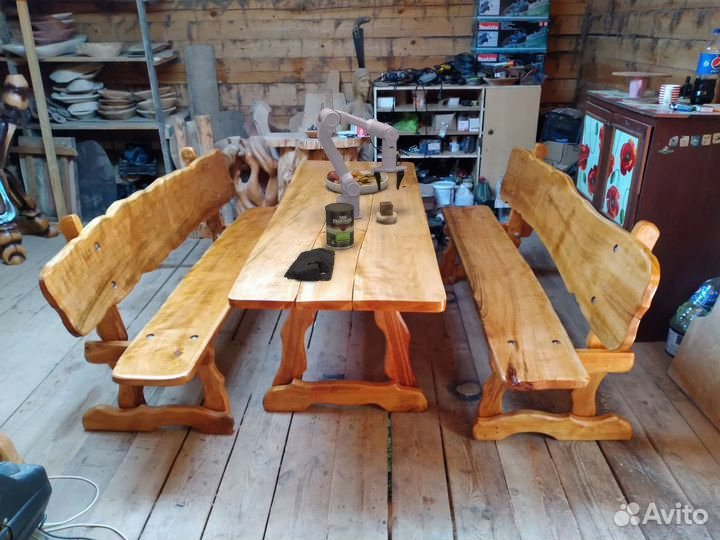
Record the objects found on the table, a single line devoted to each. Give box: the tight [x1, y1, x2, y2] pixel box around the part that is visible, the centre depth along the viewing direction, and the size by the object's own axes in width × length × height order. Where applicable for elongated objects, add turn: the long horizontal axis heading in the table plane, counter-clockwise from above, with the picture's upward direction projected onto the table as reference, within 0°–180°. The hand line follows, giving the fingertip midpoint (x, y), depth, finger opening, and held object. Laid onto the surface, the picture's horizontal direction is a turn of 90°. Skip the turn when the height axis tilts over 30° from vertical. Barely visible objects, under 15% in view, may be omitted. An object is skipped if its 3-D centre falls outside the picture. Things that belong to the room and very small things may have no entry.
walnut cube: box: [379, 200, 394, 216], centre depth 219 cm, size 4×4×4 cm
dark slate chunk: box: [283, 247, 336, 282], centre depth 180 cm, size 15×22×5 cm
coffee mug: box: [385, 150, 403, 174], centre depth 290 cm, size 12×9×10 cm
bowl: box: [325, 169, 389, 195], centre depth 265 cm, size 30×30×8 cm
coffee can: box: [324, 202, 355, 250], centre depth 196 cm, size 10×10×14 cm
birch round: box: [375, 210, 398, 226], centre depth 221 cm, size 8×8×4 cm
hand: (388, 189), depth 227 cm, fingers open, 7 cm apart
